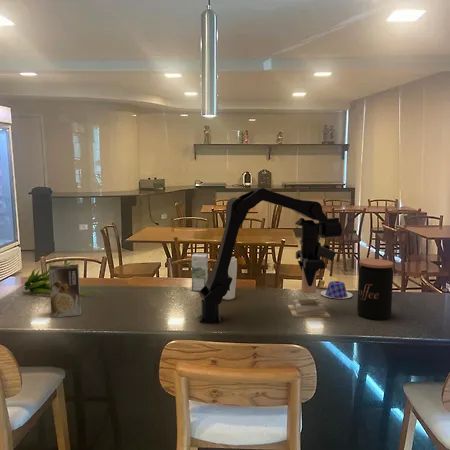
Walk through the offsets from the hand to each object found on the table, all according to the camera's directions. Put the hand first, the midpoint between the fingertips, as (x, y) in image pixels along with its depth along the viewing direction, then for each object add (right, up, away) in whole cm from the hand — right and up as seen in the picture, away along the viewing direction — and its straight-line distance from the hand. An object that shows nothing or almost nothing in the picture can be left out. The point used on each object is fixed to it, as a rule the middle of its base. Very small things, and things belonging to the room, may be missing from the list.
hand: (308, 284), depth 147 cm
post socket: (0, -9, +1) cm, 10 cm away
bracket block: (0, -3, 0) cm, 2 cm away
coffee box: (-81, -10, -2) cm, 82 cm away
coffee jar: (+21, -10, -3) cm, 24 cm away
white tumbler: (-27, -8, +17) cm, 33 cm away
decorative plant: (-90, -7, +20) cm, 93 cm away
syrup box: (-38, -6, +28) cm, 48 cm away
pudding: (+15, -8, +21) cm, 27 cm away
